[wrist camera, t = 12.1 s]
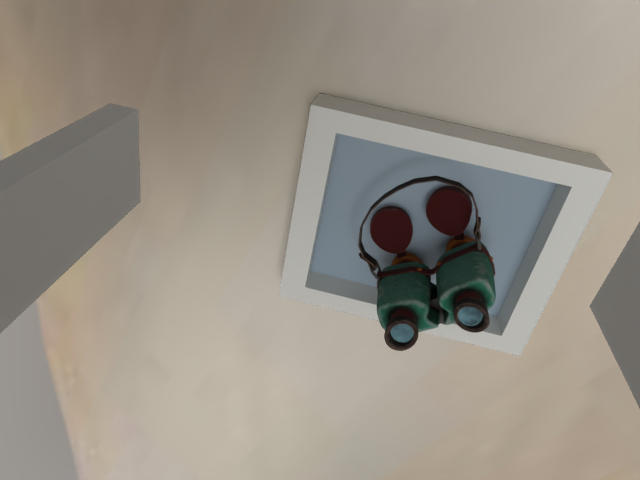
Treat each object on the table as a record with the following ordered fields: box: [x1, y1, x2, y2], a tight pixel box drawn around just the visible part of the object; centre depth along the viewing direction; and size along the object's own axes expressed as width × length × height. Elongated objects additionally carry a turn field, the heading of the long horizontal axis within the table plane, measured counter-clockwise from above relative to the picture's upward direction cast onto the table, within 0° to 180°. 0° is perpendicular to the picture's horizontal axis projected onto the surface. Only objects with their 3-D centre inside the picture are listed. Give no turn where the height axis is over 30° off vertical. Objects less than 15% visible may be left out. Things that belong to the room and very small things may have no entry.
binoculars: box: [358, 176, 496, 351], centre depth 34 cm, size 9×11×10 cm
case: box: [279, 93, 613, 356], centre depth 38 cm, size 16×20×4 cm
